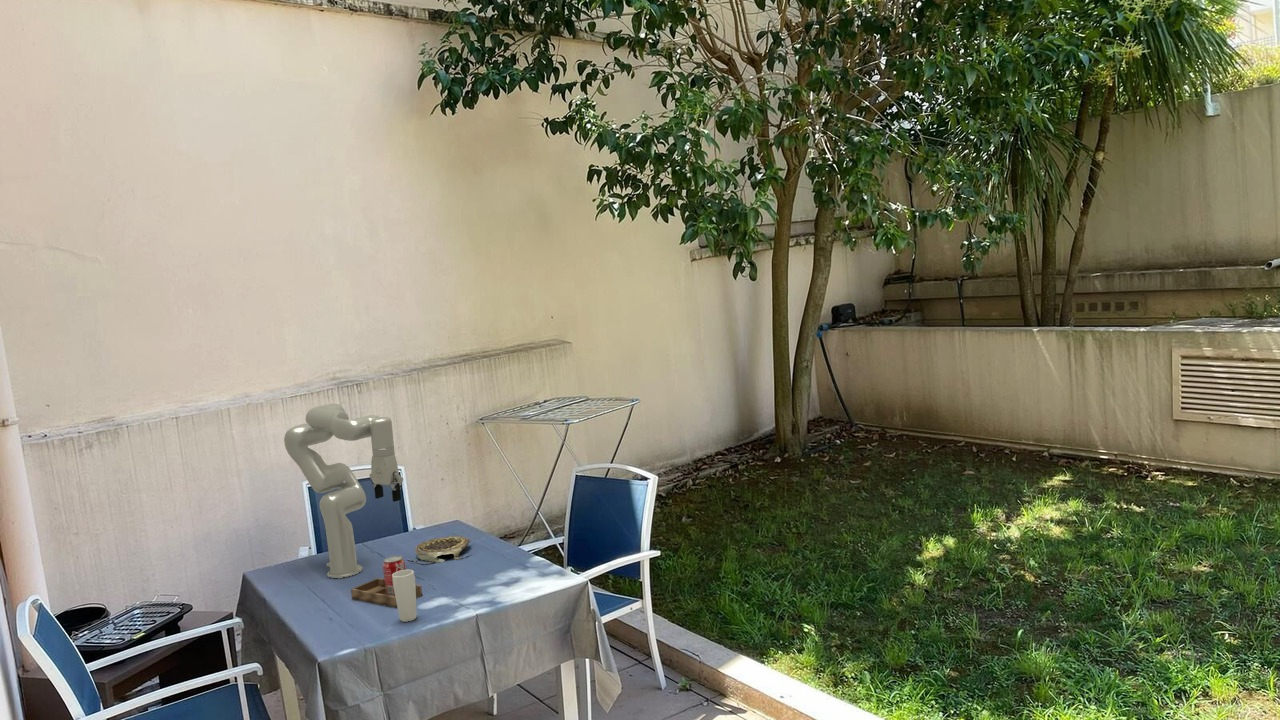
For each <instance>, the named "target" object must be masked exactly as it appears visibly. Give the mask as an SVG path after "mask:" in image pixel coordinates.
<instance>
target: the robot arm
mask: <svg viewBox="0 0 1280 720" xmlns="http://www.w3.org/2000/svg"><path fill="white" fill-rule="evenodd" d="M305 422H306V423H302V424H298V425H295V426H293V427H290V429H288V430H287V431H285V433H284V438H283V439H284V440H283V443H284V447H285V449H286V451H287V454H288V455H289V457H290V458H291V459H292V460H293V462H295V464H296V465H297V466H298V468H299V469H300V470H301V472H302V474H303V475H304V477H305V479H306V481H307V483H308V484H309V485H310V486H311V488H312V489H313V491H314V492H316V494H324V493H326V494H324V495H323V496H322V497H321V498H320V501H319V511H320V512H321V515H322V519H323V522H324V523H323V524H324V527H325V533H326V542H327V549H328V556H329V557H328V558H329V562H327V563H326V567H329V571H328V572H327V573H326V574H327V576H329V577H334V578H338V579H344V578H343V577H345V578H348V577H349V576H350V577H352V575H353V576H356V575H358V574H359V572H360V573H361V572H362V571H363V566H362V565H361V564H358V560H357V553H356V552H357V551H356V544H355V543H356V542H355V536H354V535H355V534H354V528H353V524H352V521H350V520H349V518H348V517H347V516H346V515H347V514H349V513H352V512H355V511H358V510H360V509H362V508H363V507H364V506H365V505H366V503H367V496H366V492H365V491H364V489H363V487H362V485H361V484H360V482H359V480H358V479H357V478H356V476H355V473H354V472H353V471H352V469H350V467H349V466H348V465H346V464H345V463H342V462H337V463H332V464H327V463H326V462H325V461H324V459H323V458H322V456H321V455H320V454H319V453H318V452H317V451H315V450H313V449H312V448H310V447H309V446H314V445H317V444H322V443H325V442H327V441H329V440H330V439H332V438H333V437H335V438H336V439H339V440H344V441H348V442H349V441H350V442H352V441H353V442H354V441H355V442H356V441H359V440H361V439H365V438H370V439H371V441H370V442H371V451H372V457H371V464H370V465H371V467H370V468H371V470H370V471H371V473H370V474H369V478H370V481H371V483H372V487H373V489H374V497H375V499H380V498H383V497H384V496H385V495H384V487H383V486H390V487H391V489H392V490H391V495H392V496H391V497H392V502H398V501H401V499H402V494H401V493H402V492H401V489H402V486H403V481H404V478H403V476H401V475H400V474H399V467H398V461H397V457H396V451H395V443H394V442H395V441H394V431H393V422H392V419H391V418H390V417H388V416H378V415H374V414H373V415H366V416H361V417H360V416H359V417H356V418H352V419H350V417H349V414H348V413H347V412H346V410H345V409H344V407H343V406H342V405H340V404H338V403H329V404H324V405H318V406H314V407H313V408H310V409H309V410H308V411H307V413H306V415H305ZM355 574H356V575H355ZM329 577H328V578H329Z"/></svg>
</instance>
